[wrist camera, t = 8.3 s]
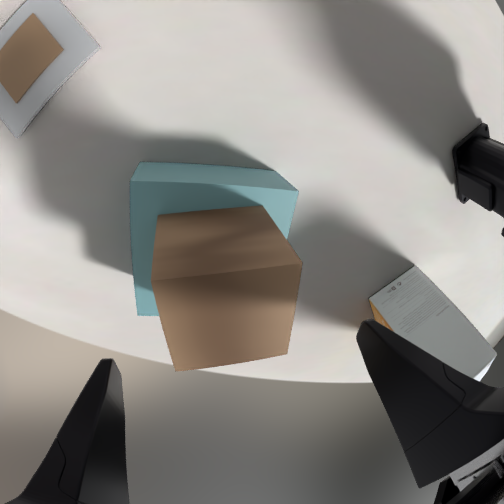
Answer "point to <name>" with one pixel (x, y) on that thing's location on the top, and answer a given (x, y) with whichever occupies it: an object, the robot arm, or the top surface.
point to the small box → (432, 323)
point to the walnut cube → (224, 286)
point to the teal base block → (195, 206)
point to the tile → (38, 58)
